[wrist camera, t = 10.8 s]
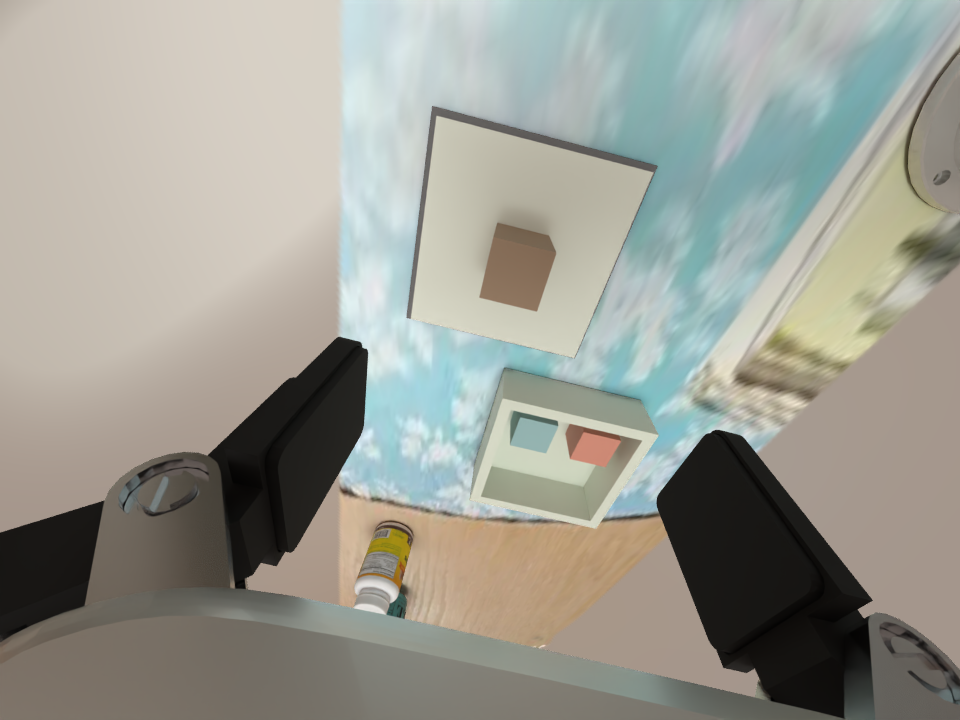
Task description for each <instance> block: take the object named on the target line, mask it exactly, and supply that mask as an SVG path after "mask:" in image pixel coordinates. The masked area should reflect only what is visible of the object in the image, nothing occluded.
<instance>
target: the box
mask: <svg viewBox="0 0 960 720" xmlns="http://www.w3.org/2000/svg"><path fill="white" fill-rule="evenodd" d="M514 411H518V412H522V413H526V414H531V415H535V416H539V417H543V418H548V419H552V420H556V421H558V428H557V431H556V433H555V435H554V437H553V439H552V442H551V444H550V446H549V448H548V450H547V452H546V453H542V452H537V451H533V450H529V449H524V448H520V447H516V446H511V445H510V420H511V418H512V415H513V412H514ZM570 424H573V425H578V426H582V427H586V428H590V429H595V430H599V431H603V432H607V433H612V434H616V435H619V436H620V439H621V442H620V444H619V446H618V447H617V449H616V451H615V452H614V454H613V456H612V457H611V459H610V461H609V462H608V464H607V466H606V467H602V466H598V465H594V464H589V463H585V462H581V461H576V460H572V459H570V457H569V451H568V446H567V440H566V435H565V433H566V431H567V429H568V427H569V425H570ZM658 436H659V435H658V433H657V431H656V429H655V427H654V425H653V423H652V421H651V419H650V417H649V415H648V413H647V411H646V409H645V408H644V406H643V404H642V402H641V400H637V399H633V398H629V397H625V396H621V395H616V394H612V393H608V392H604V391H600V390H595V389H591V388H587V387H583V386H579V385H575V384H570V383H566V382H562V381H558V380H554V379H549V378H545V377H541V376H537V375H533V374H528V373H524V372H520V371H516V370H512V369H508V368H504V370H503V374H502V377H501V380H500V383H499V386H498V390H497V393H496V396H495V399H494V403H493V406H492V409H491V412H490V416H489V419H488V422H487V425H486V428H485V432H484V435H483V438H482V441H481V445H480V448H479V451H478V454H477V457H476V461H475V464H474V471H473V478H472V486H471V493H470V501H475V502H479V503H484V504H488V505H493V506H497V507H502V508H506V509H510V510H515V511H519V512H524V513H528V514H533V515H537V516H542V517H546V518H551V519H555V520H560V521H564V522H569V523H573V524H578V525H582V526H587V527H591V528H595V529H596V528H597V526H598V525H599V523H600V522H601V520H602V519H603V517H604V516H605V514H606V513H607V511H608V510H609V508H610V507H611V505H612V504H613V502H614V501H615V499H616V498H617V497H618V495H619V494H620V492H621V491H622V489H623V488H624V486H625V485H626V483H627V482H628V480H629V479H630V477H631V476H632V474H633V473H634V471H635V470H636V468H637V467H638V465H639V464H640V462H641V461H642V459H643V458H644V456H645V455H646V453H647V452H648V450H649V449H650V447H651V446H652V444H653V443H654V442H655V440H656V439H657V437H658Z"/></svg>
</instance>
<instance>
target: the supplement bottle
mask: <svg viewBox="0 0 960 720" xmlns="http://www.w3.org/2000/svg"><path fill="white" fill-rule="evenodd" d="M412 541H413V535H412V533H411V531H410V530H409V529H408V528H407V527H406V526H404V525H402V524H399V523H395V522H386V523H383V524H381V525H379V526H378V527H377V528H376V530H375V532H374V535H373V537H372V540H371V543H370V545H369V548H368V551H367V553H366V556H365V559H364V561H363V564H362V567H361V569H360V572H359V575H358V577H357V580H356V583H355V587H354V588H355V592H356V594H357V595H358V596H357V598H356V602H355V605H354V608H355V609H360V610H365V611H370V612H375V613H380V614H385V615H386V614H387V611H388V608H389V604H390V603H392V602H394V601H395V600H396V599H397V597H398V595H399V591H400V587H401V584H402V580H403V576H404V572H405V568H406V565H407V561H408V557H409V553H410V549H411V545H412Z"/></svg>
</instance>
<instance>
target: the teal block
mask: <svg viewBox="0 0 960 720" xmlns="http://www.w3.org/2000/svg"><path fill="white" fill-rule="evenodd" d="M557 428H558V421H556V420H552V419H548V418H543V417H539V416H535V415H531V414H526V413H522V412H518V411H514V412H513V415H512V418H511V420H510V445H511V446H516V447H520V448H524V449H529V450H533V451H537V452H542V453H546V452H547V450H548V448H549V446H550V444H551V442H552V439H553V437H554V435H555V433H556V431H557Z"/></svg>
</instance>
